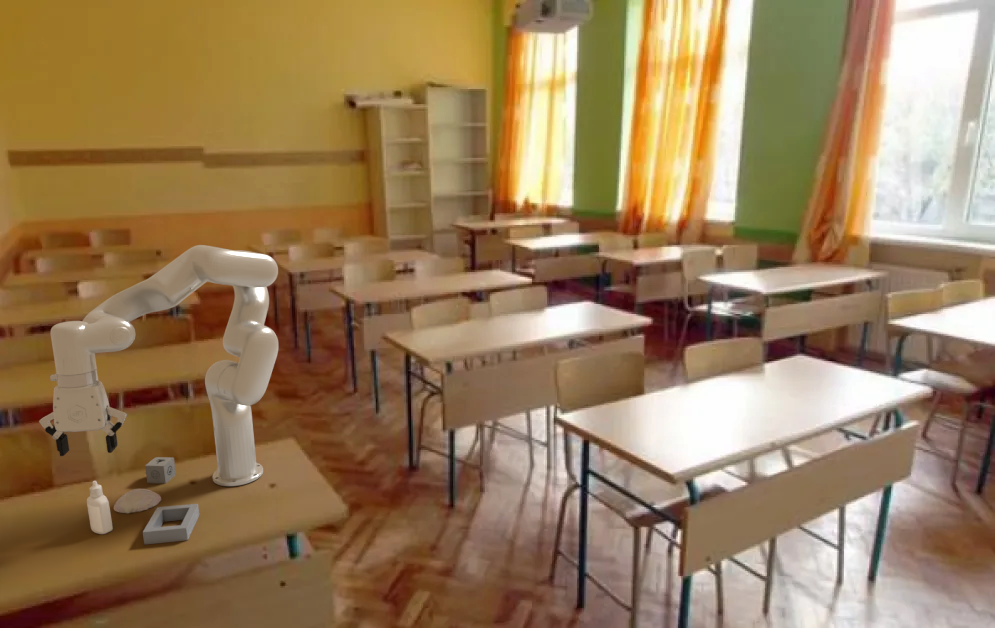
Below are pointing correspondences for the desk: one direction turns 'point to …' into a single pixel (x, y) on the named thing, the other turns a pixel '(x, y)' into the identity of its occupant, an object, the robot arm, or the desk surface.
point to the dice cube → (160, 470)
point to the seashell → (137, 501)
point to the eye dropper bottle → (99, 510)
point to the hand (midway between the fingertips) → (88, 452)
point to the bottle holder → (171, 533)
